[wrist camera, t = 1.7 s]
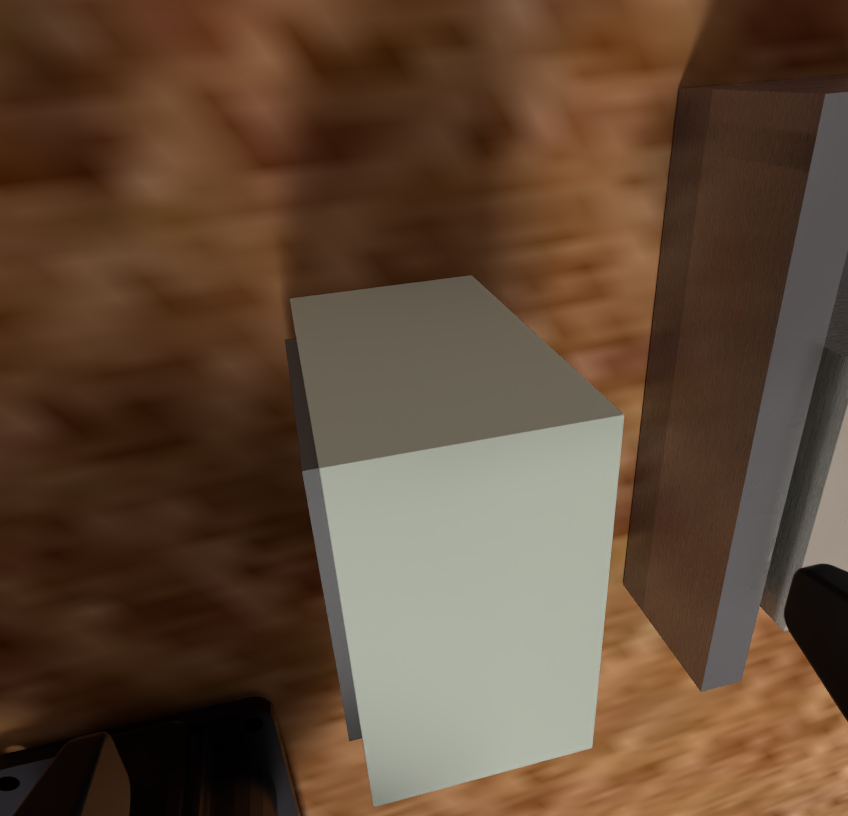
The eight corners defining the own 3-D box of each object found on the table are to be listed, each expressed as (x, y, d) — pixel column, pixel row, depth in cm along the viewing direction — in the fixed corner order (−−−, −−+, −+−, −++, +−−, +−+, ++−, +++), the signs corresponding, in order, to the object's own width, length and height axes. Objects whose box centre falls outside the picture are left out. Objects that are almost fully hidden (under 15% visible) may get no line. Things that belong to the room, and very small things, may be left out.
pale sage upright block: (477, 521, 15) (591, 747, 10) (321, 552, 15) (360, 810, 10) (471, 274, 13) (624, 414, 7) (279, 299, 12) (299, 471, 7)
